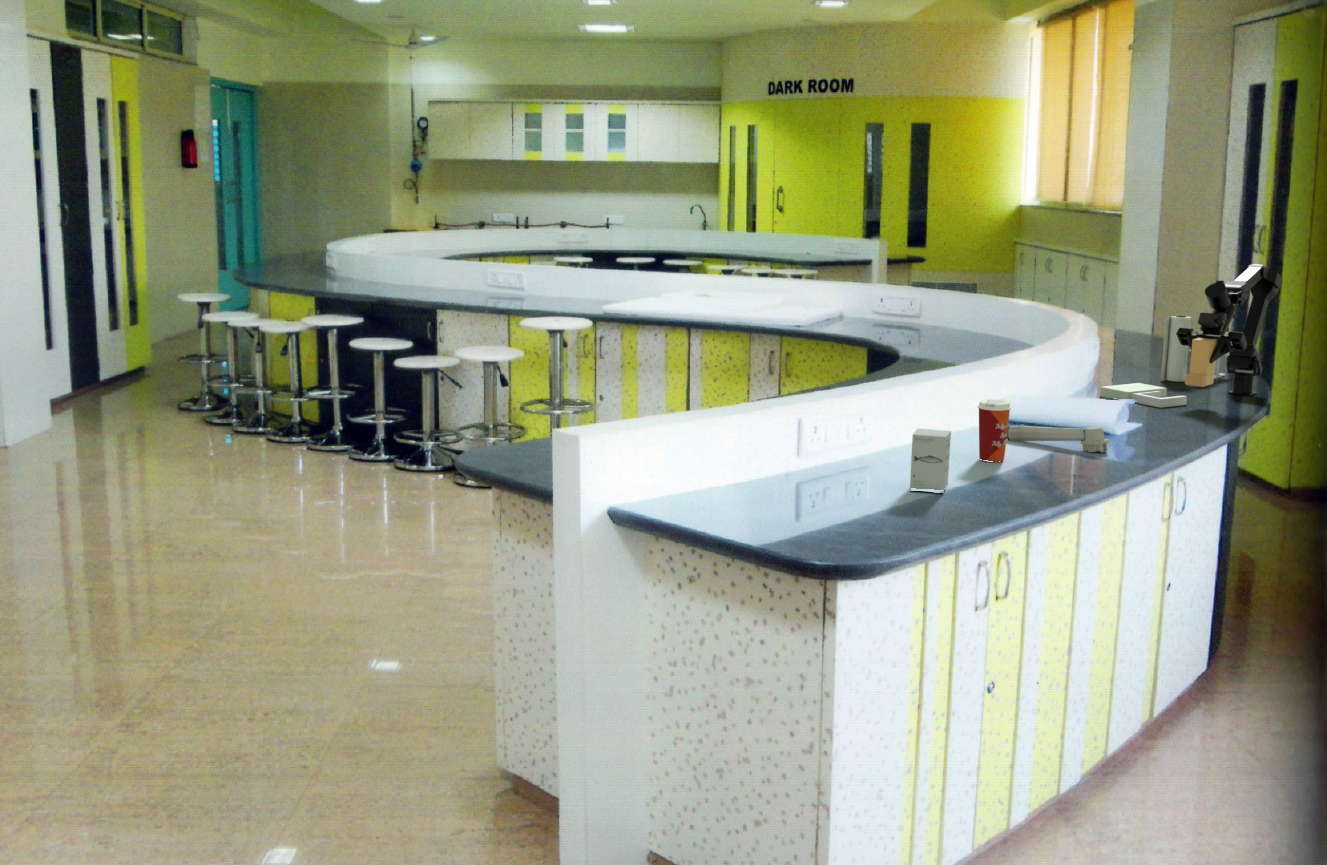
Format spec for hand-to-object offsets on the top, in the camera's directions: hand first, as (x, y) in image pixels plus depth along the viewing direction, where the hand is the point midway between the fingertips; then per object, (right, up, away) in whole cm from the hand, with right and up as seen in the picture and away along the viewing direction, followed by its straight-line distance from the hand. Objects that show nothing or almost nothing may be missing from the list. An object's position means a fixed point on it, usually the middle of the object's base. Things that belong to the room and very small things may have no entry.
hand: (1200, 361), depth 344 cm
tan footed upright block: (+1, -6, +2) cm, 7 cm away
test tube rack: (+25, -3, +52) cm, 58 cm away
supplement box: (-99, -33, -89) cm, 137 cm away
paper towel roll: (+14, -4, +50) cm, 52 cm away
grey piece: (-58, -24, -48) cm, 79 cm away
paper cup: (-78, -27, -62) cm, 104 cm away
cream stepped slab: (-10, -11, +15) cm, 21 cm away
